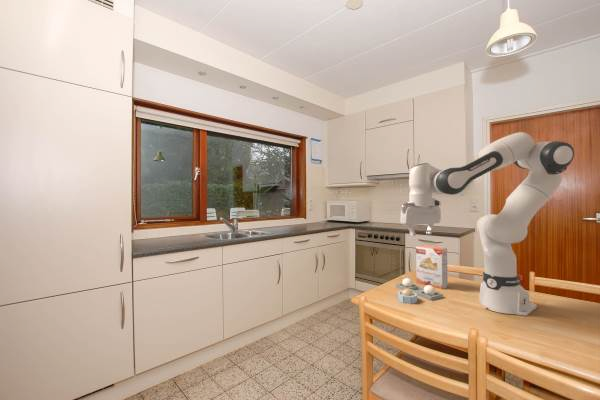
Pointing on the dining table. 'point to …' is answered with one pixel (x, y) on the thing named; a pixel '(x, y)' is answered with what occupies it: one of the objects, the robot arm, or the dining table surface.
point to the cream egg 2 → (429, 290)
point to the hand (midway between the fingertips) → (420, 235)
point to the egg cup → (407, 298)
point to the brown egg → (407, 292)
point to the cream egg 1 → (407, 282)
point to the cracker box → (431, 266)
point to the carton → (420, 291)
